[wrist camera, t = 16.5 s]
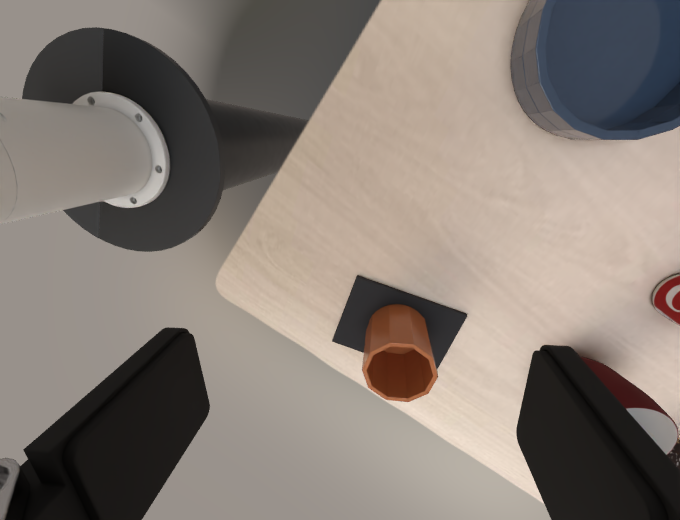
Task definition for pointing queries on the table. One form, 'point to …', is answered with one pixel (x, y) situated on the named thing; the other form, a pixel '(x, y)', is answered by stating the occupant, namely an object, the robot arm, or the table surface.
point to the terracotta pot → (398, 354)
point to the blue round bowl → (599, 67)
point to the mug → (638, 406)
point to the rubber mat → (376, 295)
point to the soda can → (668, 298)
